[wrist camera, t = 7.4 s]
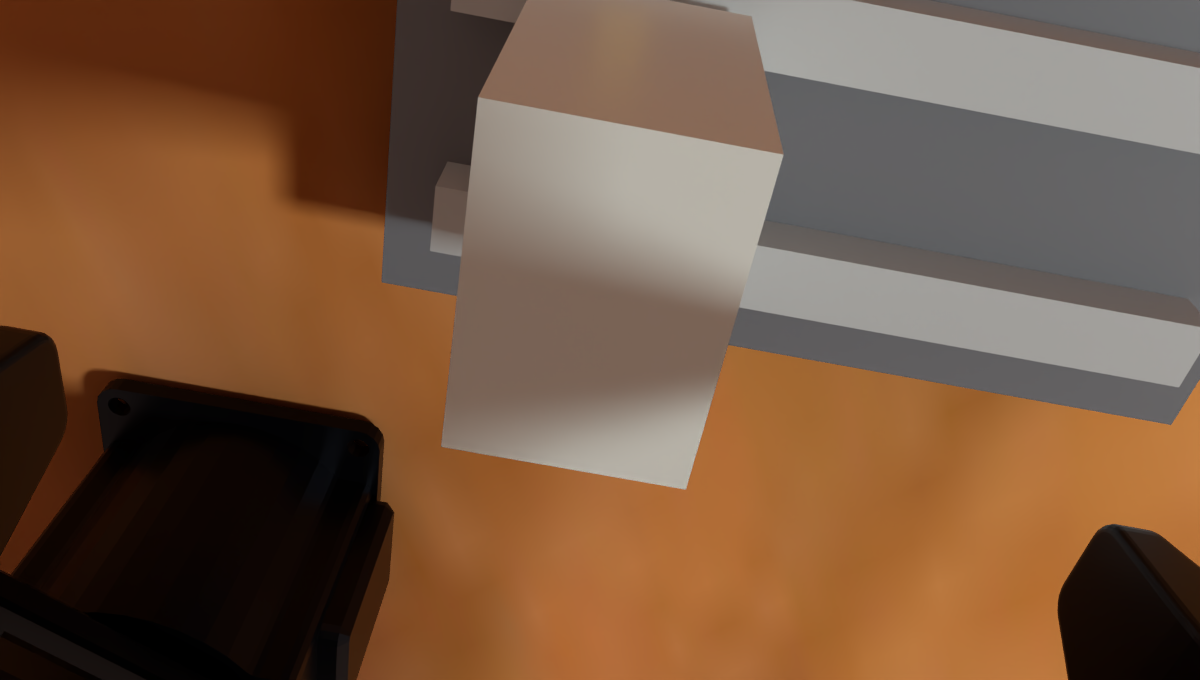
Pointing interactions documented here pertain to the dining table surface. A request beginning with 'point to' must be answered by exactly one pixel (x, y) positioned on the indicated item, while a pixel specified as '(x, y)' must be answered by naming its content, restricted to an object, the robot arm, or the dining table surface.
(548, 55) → the fader tab
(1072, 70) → the fader console
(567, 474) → the dining table surface
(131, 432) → the robot arm
